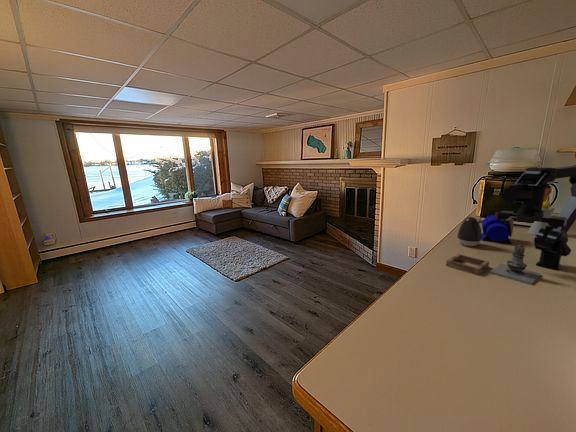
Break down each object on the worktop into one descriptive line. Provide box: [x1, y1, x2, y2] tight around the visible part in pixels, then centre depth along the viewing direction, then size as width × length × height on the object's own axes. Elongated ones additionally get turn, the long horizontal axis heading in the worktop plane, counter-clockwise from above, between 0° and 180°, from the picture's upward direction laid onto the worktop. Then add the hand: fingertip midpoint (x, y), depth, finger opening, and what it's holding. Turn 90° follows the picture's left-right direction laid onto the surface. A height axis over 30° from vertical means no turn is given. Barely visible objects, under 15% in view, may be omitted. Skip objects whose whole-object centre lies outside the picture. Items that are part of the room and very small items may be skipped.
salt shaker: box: [506, 243, 528, 275], centre depth 93 cm, size 6×6×12 cm
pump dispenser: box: [456, 216, 484, 247], centre depth 124 cm, size 10×10×15 cm
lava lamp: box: [527, 180, 556, 236], centre depth 134 cm, size 9×9×35 cm
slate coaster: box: [489, 262, 541, 286], centre depth 94 cm, size 12×12×1 cm
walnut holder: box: [445, 253, 490, 276], centre depth 102 cm, size 11×11×2 cm
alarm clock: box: [481, 211, 512, 245], centre depth 129 cm, size 12×12×15 cm
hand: (525, 239), depth 95 cm, fingers open, 9 cm apart
